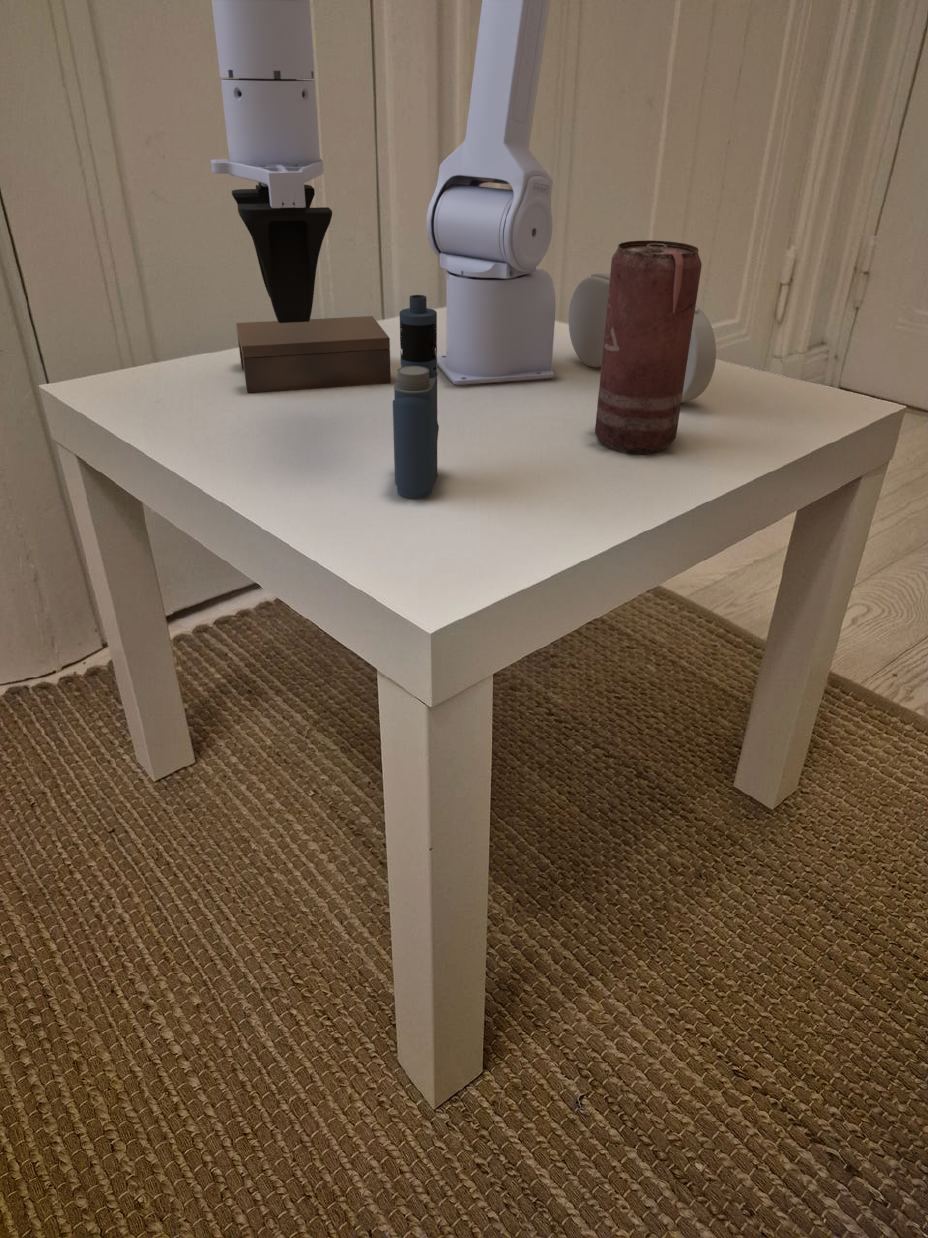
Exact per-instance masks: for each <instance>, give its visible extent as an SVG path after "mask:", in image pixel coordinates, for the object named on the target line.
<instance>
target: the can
mask: <svg viewBox="0 0 928 1238" xmlns="http://www.w3.org/2000/svg"><path fill="white" fill-rule="evenodd" d="M610 262H611V263H610V273H609V274H610V282H609V292H608V303H607V313H606V323H605V333H604V343H603V354H602V364H601V367H600V375H599V385H598V394H597V395H598V396H597V406H596V417H595V426H594V434H595V436H596V438H597V441H598V442H599V443H600V444H601V445H602V446H604V447H605V448H607V449H609V450H612V451H615V452H618V453H624V454H628V455H629V454H631V455H651V454H652V455H653V454H657V453H661V452H664V451H666V450H668V449H669V448H670V446H671V445H672V444H673V443H674V441H675V440H677V435H678V426H679V419H680V414H681V413H680V412H681V407H682V402H681V401H682V394H683V387H684V380H685V374H686V367H687V360H688V354H689V347H690V340H691V333H692V327H693V320H694V313H695V307H696V305H697V300H698V292H699V287H700V286H699V285H700V279H701V272H702V265H703V263H702V261H701V257H700V255H699V248H698V246H695V245H693V244H688V243H685V242H684V243H683V242H676V241H670V240H669V241H667V240H648V239H647V240H630V241H625V242H621V243H619V244H618V245H617V249H616V250H615V252H614V253H613V255H612V257H611V261H610Z"/></svg>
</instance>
